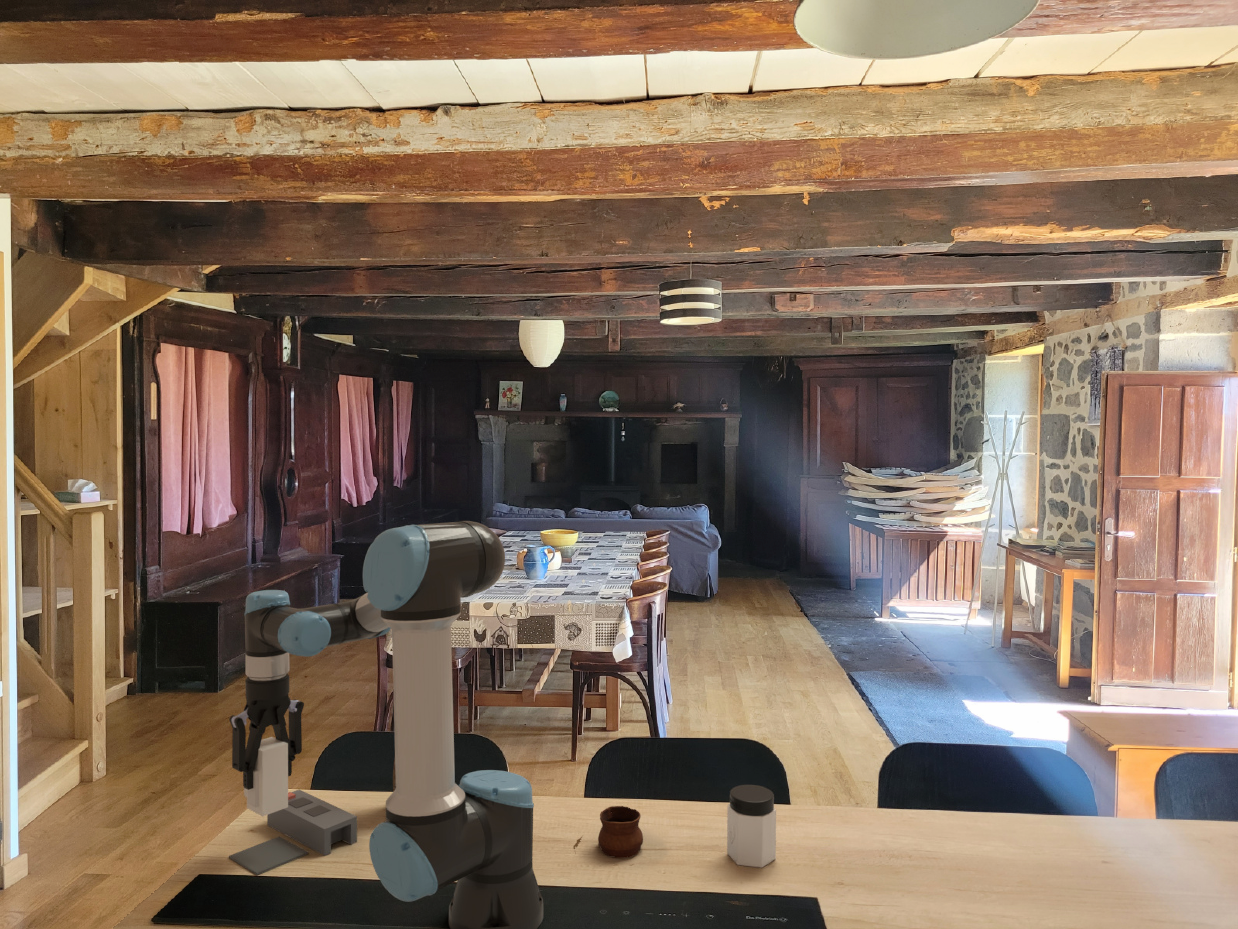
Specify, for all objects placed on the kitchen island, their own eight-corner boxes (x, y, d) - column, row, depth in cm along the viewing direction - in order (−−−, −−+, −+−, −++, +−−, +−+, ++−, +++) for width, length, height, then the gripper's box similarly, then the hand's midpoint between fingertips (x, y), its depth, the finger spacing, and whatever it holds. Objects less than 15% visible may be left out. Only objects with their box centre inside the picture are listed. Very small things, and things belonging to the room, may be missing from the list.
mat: (308, 854, 159) (308, 852, 159) (257, 875, 151) (257, 873, 151) (279, 838, 165) (279, 836, 165) (228, 858, 157) (228, 856, 157)
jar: (721, 848, 162) (721, 786, 162) (759, 843, 165) (760, 781, 164) (741, 871, 154) (742, 805, 153) (782, 865, 156) (782, 800, 156)
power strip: (357, 842, 164) (356, 813, 164) (324, 855, 158) (324, 826, 158) (299, 813, 176) (299, 786, 176) (267, 825, 171) (267, 797, 171)
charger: (288, 807, 159) (287, 743, 158) (262, 816, 155) (262, 751, 154) (263, 795, 164) (263, 733, 163) (238, 803, 160) (238, 740, 159)
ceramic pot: (556, 860, 158) (558, 822, 157) (597, 822, 174) (598, 788, 174) (647, 882, 150) (648, 843, 150) (680, 841, 167) (682, 805, 167)
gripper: (300, 661, 167) (301, 779, 168) (208, 682, 153) (209, 810, 153) (322, 668, 162) (322, 789, 163) (230, 690, 148) (230, 822, 149)
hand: (268, 799), depth 158 cm, fingers closed on charger, 5 cm apart
